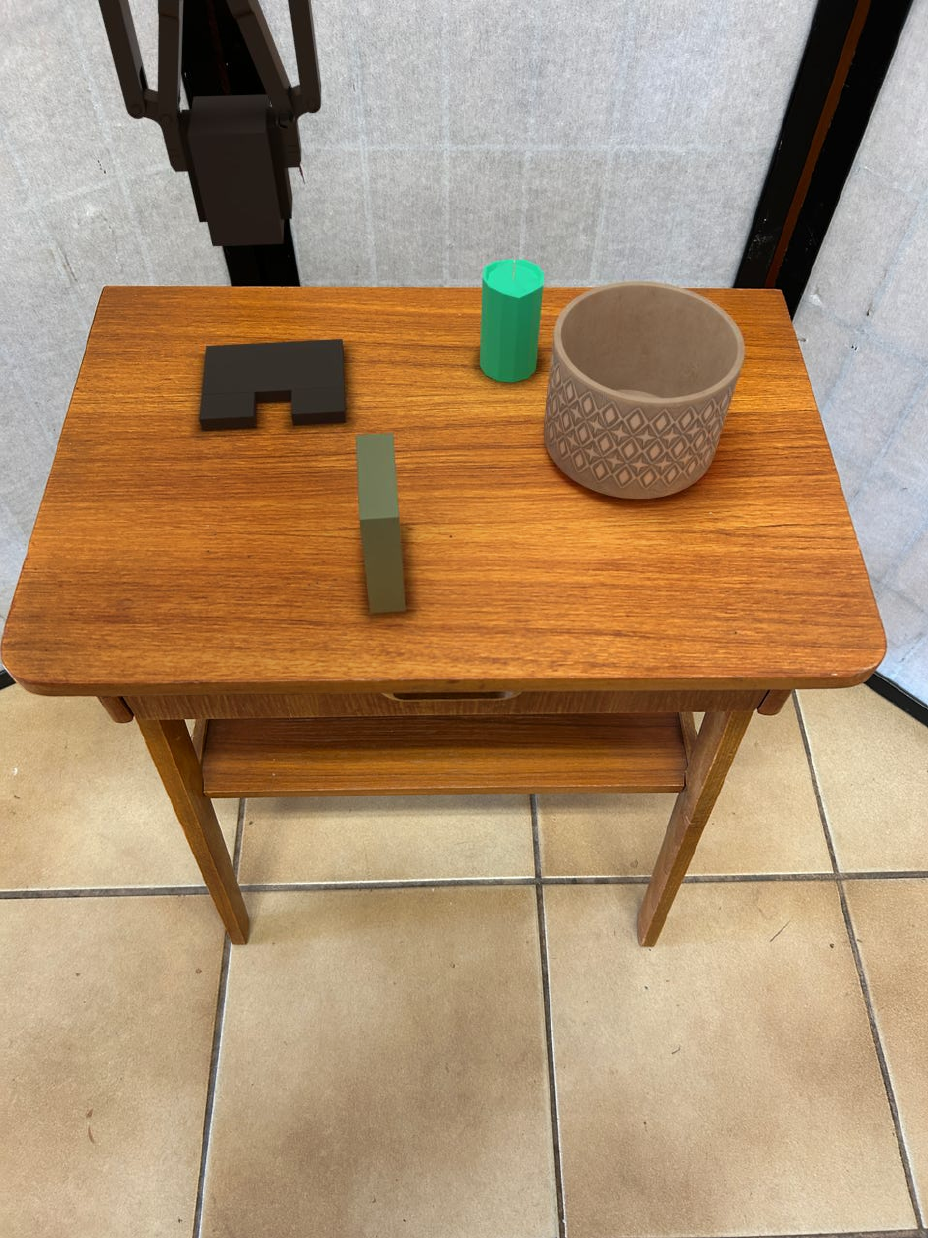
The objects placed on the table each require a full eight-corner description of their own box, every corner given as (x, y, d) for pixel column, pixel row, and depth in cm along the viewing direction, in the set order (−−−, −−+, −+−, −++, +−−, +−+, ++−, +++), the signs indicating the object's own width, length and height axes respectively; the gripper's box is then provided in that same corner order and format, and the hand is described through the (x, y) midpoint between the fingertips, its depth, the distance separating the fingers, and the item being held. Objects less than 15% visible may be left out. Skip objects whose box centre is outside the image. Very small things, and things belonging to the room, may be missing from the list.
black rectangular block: (212, 246, 67) (186, 134, 61) (219, 184, 72) (196, 74, 66) (283, 243, 68) (265, 131, 61) (286, 182, 72) (269, 72, 66)
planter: (561, 517, 87) (576, 411, 76) (527, 396, 96) (537, 288, 86) (734, 499, 88) (772, 393, 78) (684, 381, 98) (712, 273, 87)
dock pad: (202, 430, 93) (198, 419, 92) (209, 357, 99) (206, 345, 98) (346, 422, 94) (344, 410, 92) (343, 350, 100) (342, 338, 99)
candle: (470, 373, 98) (472, 271, 88) (491, 339, 101) (496, 236, 92) (525, 388, 97) (533, 286, 87) (544, 353, 100) (555, 251, 90)
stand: (370, 614, 80) (359, 519, 70) (366, 533, 85) (355, 434, 76) (405, 611, 80) (399, 516, 71) (399, 531, 86) (393, 432, 76)
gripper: (342, -233, 52) (371, 176, 71) (3, -230, 51) (125, 185, 70) (343, -189, 47) (374, 235, 66) (-28, -184, 46) (111, 245, 65)
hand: (246, 209), depth 68 cm, fingers closed on black rectangular block, 5 cm apart
